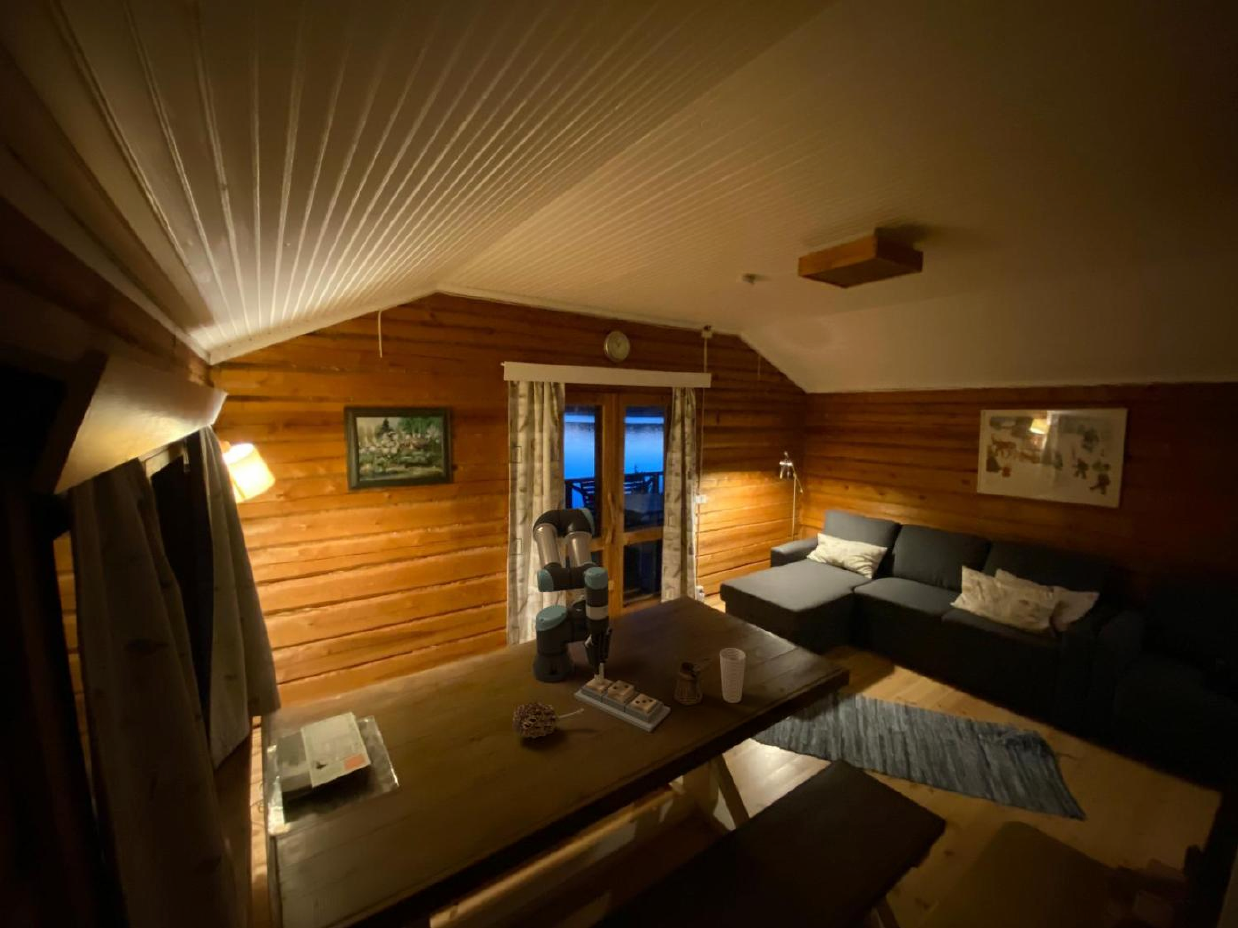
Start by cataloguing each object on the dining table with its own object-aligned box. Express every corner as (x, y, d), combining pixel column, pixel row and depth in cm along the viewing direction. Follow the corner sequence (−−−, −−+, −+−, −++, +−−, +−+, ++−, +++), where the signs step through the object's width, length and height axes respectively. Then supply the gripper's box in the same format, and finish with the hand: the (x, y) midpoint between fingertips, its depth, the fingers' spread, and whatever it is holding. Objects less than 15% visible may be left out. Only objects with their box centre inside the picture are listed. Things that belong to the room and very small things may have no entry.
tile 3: (630, 711, 160) (630, 702, 160) (641, 702, 165) (641, 692, 165) (646, 718, 157) (646, 709, 156) (657, 708, 162) (657, 699, 161)
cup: (713, 697, 169) (714, 654, 167) (728, 687, 175) (729, 644, 173) (735, 708, 163) (736, 663, 161) (750, 697, 169) (751, 653, 167)
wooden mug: (694, 716, 160) (694, 663, 157) (668, 694, 171) (669, 644, 169) (716, 707, 164) (717, 655, 162) (690, 686, 176) (690, 637, 173)
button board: (574, 697, 171) (573, 688, 170) (596, 680, 180) (596, 671, 180) (649, 732, 153) (649, 721, 152) (670, 711, 162) (670, 701, 162)
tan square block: (586, 692, 171) (586, 683, 170) (597, 683, 176) (597, 675, 175) (600, 698, 167) (600, 689, 167) (611, 689, 172) (611, 680, 172)
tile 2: (608, 697, 165) (607, 688, 165) (618, 688, 170) (618, 679, 170) (623, 703, 162) (622, 694, 161) (633, 694, 167) (633, 685, 166)
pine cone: (515, 751, 146) (513, 719, 144) (510, 730, 155) (509, 700, 153) (589, 733, 153) (588, 702, 151) (581, 714, 162) (580, 685, 160)
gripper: (594, 625, 160) (595, 694, 164) (618, 610, 170) (619, 676, 174) (575, 619, 164) (577, 687, 168) (600, 605, 175) (602, 669, 178)
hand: (599, 681), depth 171 cm, fingers closed
